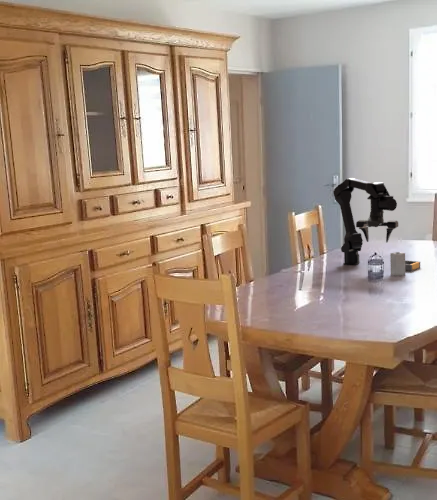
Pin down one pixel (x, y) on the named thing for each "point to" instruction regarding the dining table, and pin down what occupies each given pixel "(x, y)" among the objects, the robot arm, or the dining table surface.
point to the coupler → (411, 265)
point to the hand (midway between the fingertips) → (377, 242)
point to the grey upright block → (397, 263)
